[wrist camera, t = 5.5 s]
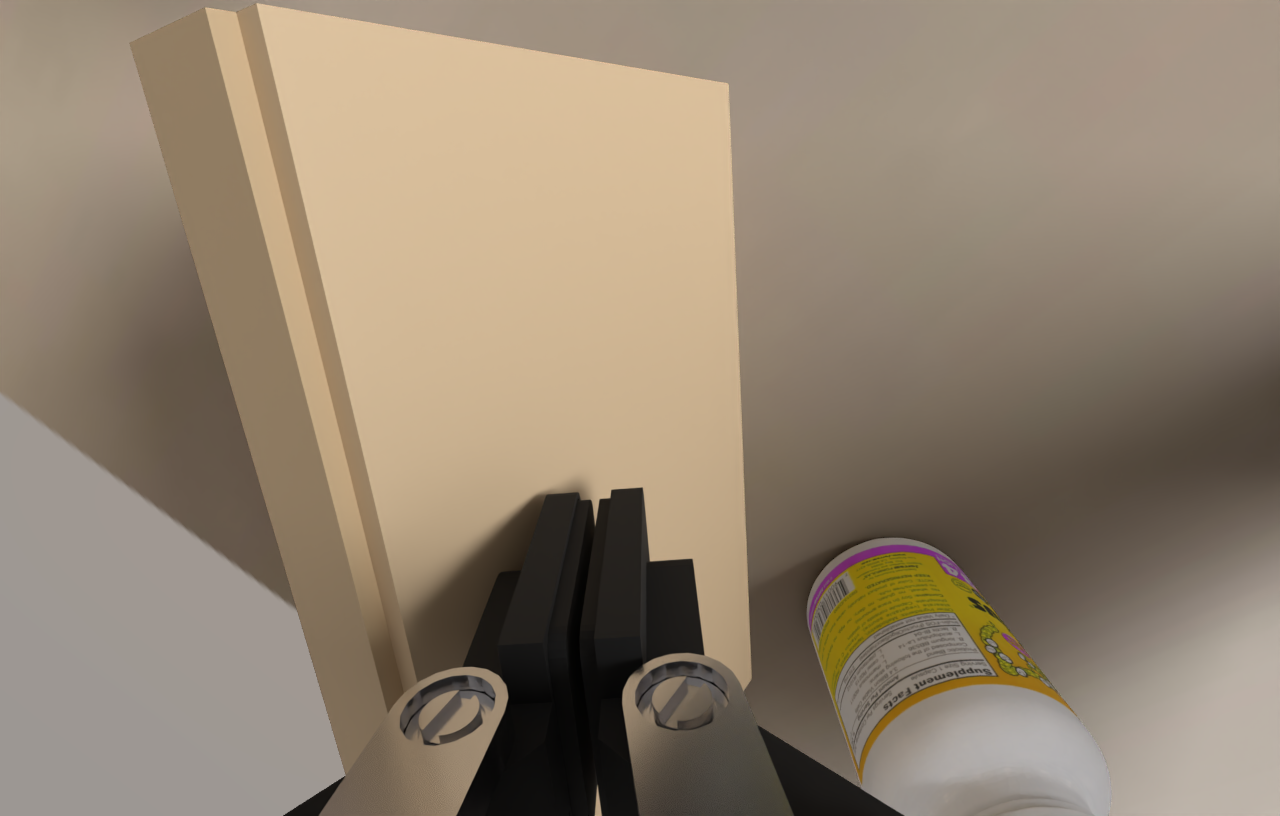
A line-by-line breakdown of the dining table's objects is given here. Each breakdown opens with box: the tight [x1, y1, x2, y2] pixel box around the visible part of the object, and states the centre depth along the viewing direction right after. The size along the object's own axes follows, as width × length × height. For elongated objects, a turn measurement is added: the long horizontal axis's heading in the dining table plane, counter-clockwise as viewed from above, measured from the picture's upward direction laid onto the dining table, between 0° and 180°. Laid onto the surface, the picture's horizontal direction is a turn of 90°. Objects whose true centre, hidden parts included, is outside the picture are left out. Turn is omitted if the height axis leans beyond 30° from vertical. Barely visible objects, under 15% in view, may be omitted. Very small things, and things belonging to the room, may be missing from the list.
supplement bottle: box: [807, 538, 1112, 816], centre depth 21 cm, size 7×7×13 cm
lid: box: [130, 3, 752, 816], centre depth 14 cm, size 11×16×2 cm
